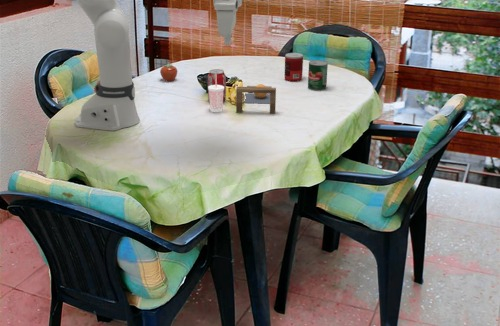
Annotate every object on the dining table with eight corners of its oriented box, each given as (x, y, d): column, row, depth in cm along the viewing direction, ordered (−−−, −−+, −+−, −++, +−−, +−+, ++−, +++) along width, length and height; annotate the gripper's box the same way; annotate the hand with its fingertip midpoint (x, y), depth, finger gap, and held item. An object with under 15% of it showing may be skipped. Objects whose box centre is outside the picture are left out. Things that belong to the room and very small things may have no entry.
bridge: (275, 113, 231) (275, 90, 227) (236, 112, 232) (236, 88, 228) (275, 111, 234) (275, 87, 230) (236, 110, 234) (236, 86, 231)
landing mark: (241, 103, 242) (241, 102, 242) (244, 93, 253) (244, 93, 253) (272, 104, 241) (272, 103, 241) (273, 94, 252) (273, 94, 252)
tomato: (164, 83, 266) (163, 65, 263) (158, 79, 272) (157, 61, 268) (180, 81, 269) (179, 63, 266) (173, 76, 275) (173, 59, 272)
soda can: (223, 104, 241) (223, 74, 236) (206, 103, 242) (205, 73, 237) (227, 98, 247) (227, 69, 242) (210, 97, 248) (210, 68, 243)
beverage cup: (209, 113, 231) (208, 76, 225) (207, 107, 237) (206, 72, 231) (225, 112, 232) (225, 75, 226) (223, 106, 238) (222, 71, 232)
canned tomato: (326, 85, 265) (327, 60, 260) (326, 91, 257) (328, 65, 253) (307, 85, 265) (309, 59, 261) (307, 90, 258) (308, 64, 254)
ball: (253, 94, 244) (254, 81, 245) (252, 99, 249) (254, 86, 251) (267, 95, 244) (268, 82, 245) (266, 100, 249) (267, 87, 251)
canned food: (305, 78, 274) (306, 54, 270) (296, 83, 268) (297, 58, 264) (290, 76, 278) (290, 51, 273) (281, 80, 272) (281, 55, 267)
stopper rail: (246, 92, 255) (246, 86, 254) (247, 91, 256) (247, 85, 255) (271, 93, 254) (271, 87, 253) (271, 92, 255) (271, 86, 254)
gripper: (221, -6, 202) (221, 37, 207) (213, 5, 183) (214, 51, 189) (240, -5, 201) (240, 37, 207) (234, 5, 183) (235, 52, 188)
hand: (227, 44), depth 198 cm, fingers closed
